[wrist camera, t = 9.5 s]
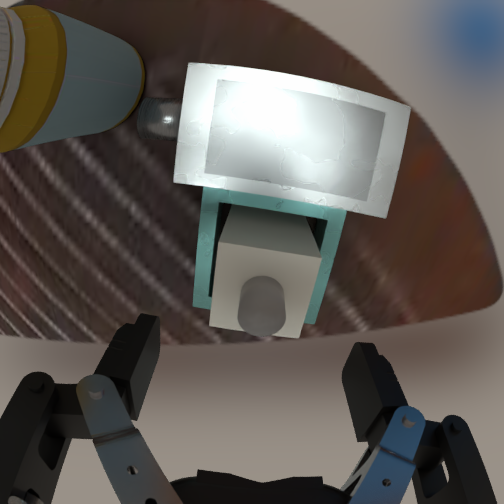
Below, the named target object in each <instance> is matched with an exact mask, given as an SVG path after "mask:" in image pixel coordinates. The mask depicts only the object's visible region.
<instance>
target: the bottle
mask: <svg viewBox="0 0 504 504" xmlns="http://www.w3.org/2000/svg"><path fill="white" fill-rule="evenodd" d="M144 79H145V71H144V66H143V61H142V59H141V57H140V55H139V54H138V52H137V51H136V49H135V48H134V47H133V46H131V45H130V44H128V43H127V42H125V41H123V40H122V39H120V38H118V37H115V36H113V35H111V34H109V33H107V32H104V31H102V30H100V29H98V28H95V27H93V26H91V25H88V24H86V23H83V22H81V21H78V20H76V19H73V18H71V17H68V16H66V15H63V14H60V13H58V12H55V11H52V10H49V9H47V8H43V7H39V6H35V5H23V6H17V7H12V8H3V7H0V153H1V152H6V151H12V150H16V149H20V148H24V147H28V146H33V145H37V144H41V143H46V142H51V141H56V140H61V139H66V138H71V137H77V136H82V135H88V134H95V133H100V132H104V131H107V130H109V129H112V128H114V127H116V126H118V125H119V124H120V123H122V122H123V121H124V120H125V119H127V118H128V117H129V115H130V114H131V113H132V111H133V110H134V109H135V107H136V106H137V104H138V102H139V99H140V97H141V94H142V92H143V88H144Z"/></svg>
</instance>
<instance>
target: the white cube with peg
mask: <svg viewBox="0 0 504 504" xmlns="http://www.w3.org/2000/svg"><path fill="white" fill-rule="evenodd" d="M321 260H322V257H321V254H320V252H319V249H318V247H317V244H316V242H315V239H314V237H313V234H312V232H311V229H310V227H309V224H308V222H307V219H306V217H305V216H303V215H297V214H292V213H286V212H280V211H274V210H268V209H262V208H255V207H249V206H243V205H236V204H232V206H231V209H230V212H229V214H228V217H227V220H226V222H225V225H224V228H223V231H222V234H221V236H220V239H219V242H218V250H217V259H216V267H215V276H214V285H213V294H212V303H211V313H210V323H209V326H214V327H220V328H226V329H232V330H239V331H246V332H247V333H249V334H251V335H254V336H260V337H264V336H270V335H275V336H283V337H291V338H299V336H300V333H301V329H302V326H303V323H304V320H305V316H306V313H307V310H308V306H309V303H310V299H311V296H312V292H313V289H314V285H315V282H316V278H317V275H318V271H319V267H320V264H321Z"/></svg>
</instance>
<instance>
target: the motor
mask: <svg viewBox="0 0 504 504" xmlns="http://www.w3.org/2000/svg"><path fill="white" fill-rule="evenodd" d="M410 110H411V107H409V106H407V105H404V104H401V103H398V102H395V101H392V100H389V99H386V98H383V97H380V96H376V95H373V94H370V93H366V92H363V91H359V90H356V89H352V88H349V87H345V86H341V85H337V84H333V83H329V82H324V81H320V80H315V79H311V78H306V77H301V76H296V75H291V74H285V73H279V72H273V71H267V70H260V69H253V68H245V67H237V66H227V65H217V64H204V63H189V64H188V70H187V77H186V83H185V89H184V96H183V99H174V98H153V97H147V98H145V99H144V100H143V101H142V103H141V105H140V108H139V112H138V117H137V130H138V134H139V136H140V137H141V138H144V139H158V140H170V141H178V142H177V151H176V160H175V170H174V181H173V182H174V183H182V184H190V185H198V186H203V195H202V204H201V213H200V223H199V234H198V244H197V256H196V268H195V280H194V294H193V307H199V308H205V309H211V303H212V294H213V285H214V276H215V267H216V258H217V250H218V242H219V233H220V225H221V217H222V210H223V203H229V204H236V205H243V206H249V207H255V208H262V209H268V210H274V211H280V212H286V213H292V214H297V215H303V216H309V217H314V218H317V221H316V226H315V230H314V234H313V237H314V239H315V242H316V244H317V247H318V249H319V252H320V254H321V257H322V260H321V264H320V267H319V271H318V275H317V278H316V282H315V285H314V289H313V292H312V296H311V299H310V303H309V306H308V310H307V313H306V316H305V320H304V323H309V324H315V321H316V318H317V314H318V311H319V308H320V305H321V302H322V299H323V295H324V292H325V289H326V285H327V282H328V279H329V275H330V272H331V268H332V265H333V261H334V258H335V254H336V250H337V247H338V243H339V239H340V236H341V232H342V228H343V224H344V220H345V216H346V212H347V210H348V211H352V212H357V213H362V214H367V215H372V216H376V217H381V218H386V216H387V213H388V209H389V205H390V202H391V198H392V194H393V190H394V186H395V182H396V178H397V174H398V169H399V165H400V161H401V156H402V152H403V147H404V142H405V137H406V132H407V127H408V121H409V116H410Z"/></svg>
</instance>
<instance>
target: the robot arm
mask: <svg viewBox="0 0 504 504" xmlns="http://www.w3.org/2000/svg"><path fill="white" fill-rule="evenodd" d="M159 352H160V319H159V317H158V316H153V315H148V314H143V313H141V314H140V315H139V317H138V319H137V321H136V323H135V324H129V323H126V324H125V325H123V326H122V327H121V328H119V329H118V330H117V332H116V333H115V335H114V337H113V340H111V342H110V344H109V347H108V348H107V350H106V351H105V353H104V355H103V357H102V359H101V361H100V362H99V364H98V366H97V368H96V370H95V372H94V374H93V375H89V376H86V377H84V378H83V379H81V380H80V381H79V383H78V384H56V383H54V380H53V379H52V377H51V376H50V375H48V374H46V373H44V372H32V373H30V374H28V375H26V376H25V377H24V378H23V379H22V381H21V382H20V384H19V386H18V387H17V389H16V391H15V393H14V394H13V396H12V398H11V400H10V402H9V403H8V405H7V407H6V409H5V411H4V413H3V415H2V416H1V418H0V504H51V502H52V499H53V495H54V492H55V488H56V485H57V482H58V479H59V475H60V472H61V469H62V466H63V463H64V460H65V457H66V454H67V451H68V448H69V445H70V442H71V439H72V438H77V439H93V443H94V446H95V448H96V451H97V453H98V456H99V458H100V460H101V463H102V465H103V467H104V470H105V472H106V474H107V476H108V478H109V480H110V482H111V485H112V487H113V489H114V491H115V493H116V494H117V497H118V499H119V500H120V502H121V504H400V503H401V500H402V498H403V496H404V494H405V492H406V489H407V487H408V485H409V482H410V480H411V478H412V480H413V485H414V489H415V494H416V498H417V503H418V504H497V501H496V498H495V495H494V492H493V489H492V486H491V483H490V480H489V478H488V475H487V472H486V469H485V466H484V464H483V461H482V458H481V456H480V453H479V451H478V448H477V446H476V444H475V441H474V439H473V436H472V434H471V431H470V429H469V427H468V425H467V423H466V422H465V421H464V420H463V419H462V418H461V417H459V416H456V415H449V416H446V417H445V418H444V419H443V421H442V422H441V423H440V422H434V421H429V420H425V418H424V416H423V414H422V413H421V412H420V411H419V410H417V409H416V408H414V407H411V406H409V405H408V403H407V400H406V398H405V396H404V394H403V391H402V389H401V386H400V384H399V382H398V381H397V377H396V375H395V374H394V371H393V368H392V366H391V364H390V363H389V362H388V361H387V359H386V358H385V357H384V356H383V355H379V354H378V352H377V349H376V347H375V345H374V344H373V343H362V342H356V343H355V344H354V346H353V348H352V350H351V352H350V355H349V357H348V359H347V361H346V363H345V366H344V368H343V371H342V383H343V387H344V391H345V394H346V398H347V402H348V406H349V409H350V413H351V418H352V422H353V426H354V429H355V434H356V438H357V442H367V441H368V445H369V446H368V447H367V449H366V450H365V452H364V453H363V455H362V457H361V459H360V460H359V462H358V464H357V465H356V467H355V469H354V470H353V472H352V473H351V475H350V477H349V478H348V480H347V481H346V483H345V484H344V485H343V486H342V487H341V489H337V488H335V487H332V486H329V485H326V484H323V479H322V476H320V477H290V478H286V479H281V480H276V481H270V482H264V483H261V482H256V481H252V480H249V479H246V478H242V477H239V476H236V475H232V474H229V473H220V472H213V471H205V470H199V469H198V471H197V476H196V477H187V478H181V479H178V480H175V481H172V482H169V481H168V480H167V478H166V476H165V475H164V473H163V472H162V470H161V468H160V467H159V465H158V463H157V462H156V460H155V458H154V456H153V455H152V453H151V451H150V449H149V448H148V446H147V444H146V442H145V440H144V438H143V437H142V435H141V433H140V432H139V430H138V429H137V428H135V427H134V425H133V423H132V421H131V420H135V421H137V419H138V417H139V413H140V410H141V407H142V405H143V401H144V399H145V395H146V392H147V390H148V387H149V384H150V381H151V378H152V375H153V372H154V369H155V366H156V364H157V361H158V358H159ZM443 461H445V464H446V467H447V470H448V474H449V481H448V483H447V480H446V476H445V473H444V470H443V466H442V462H443Z"/></svg>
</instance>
